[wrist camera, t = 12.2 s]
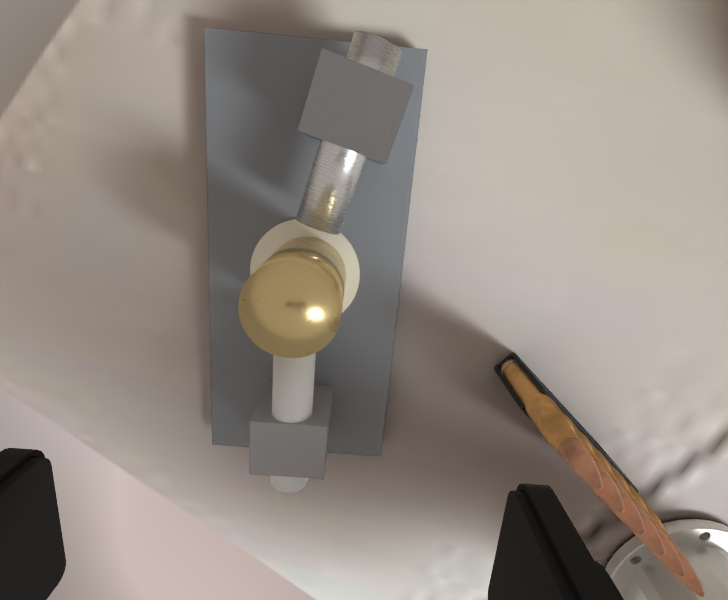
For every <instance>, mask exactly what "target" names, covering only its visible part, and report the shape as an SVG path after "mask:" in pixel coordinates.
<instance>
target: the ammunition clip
mask: <svg viewBox="0 0 728 600" xmlns="http://www.w3.org/2000/svg"><path fill="white" fill-rule="evenodd" d="M494 370H495V371H496V373H497V374H498V376H499V377H500V379H501V380H502V382H503V383H504V385H505V386H506V388H507V389H508V391H509V392H510V394H511V395H512V397H513V398H514V400H515V401H516V403H517V404H518V406H519V407H520V409H521V410H522V411H523V412H524V413H525V414H526V415H527V416H528V417H529V418H530V419H531V420H532V421H533V422H534V424H535V425H536V427H537V428H538V430H539V431H540V432H541V434H542V435H543V437H544V438H545V439H546V440H547V441H548V442H549V443H550V444H551V445H552V446H554V448H555V449H556V450H557V451H558V453H559V454H560V455H561V456H562V457H563V458H564V460H565V461H566V462H567V464H568V465H569V466H570V467H571V468H572V469H573V471H574V472H575V473H576V474H577V475H578V476H579V477H580V478H582V479H583V480H584V481H585V482H586V483H587V485H588V486H589V487H590V488H591V489H592V490H593V491H594V492H595V494H596V495H597V496H598V497H599V498H600V499H602V500H603V501H604V502H605V503H606V504H607V506H608V507H609V508H610V509H611V510H612V511H613V512H614V513H615V514H616V515H617V516H618V517H619V518H620V519H621V520H622V521H623V522H624V523H625V524H626V525H627V527H628V528H629V529H630V530H631V531H632V532H633V533H634V534H635V535H636V536H637V537H638V538H639V539H640V540H641V541H642V542H643V543H644V544H645V545H646V546H647V547H648V549H649V550H650V551H651V552H652V553H653V554H654V555H655V556H656V557H657V558H658V559H659V560H660V561H661V562H662V563H663V564H664V565H665V566H666V567H667V568H668V569H669V571H670V572H671V573H672V574H673V575H674V576H675V577H676V578H677V579H678V580H679V581H680V582H681V583H683V584H684V585H685V586H686V587H687V588H688V589H690V590H691V591H692V592H694V593H695V594H697V595H699V596H701V597H704V595H705V594H704V590H703V587H702V584H701V582H700V580H699V578H698V576H697V574H696V572H695V570H694V569H693V567H692V565H691V564H690V562H689V561H688V559H687V558H686V557H685V555H684V554H683V553H682V551H681V550H680V549H679V548H678V546H677V545H676V544H675V543H674V540H673V539H672V538H671V537H670V535H669V534H668V533H667V531H666V530H665V528H664V526H663V525H662V523H661V521H660V519H659V518H658V517H657V515H656V514H655V513H654V512H653V511H652V509H651V508H650V507H649V506H648V505H647V503H646V502H645V501H644V500H643V499H642V498H641V496H640V495H639V494H638V492H639V491H638V490H637V488H636V487H635V486H634V485H633V484H632V483H631V481H630V480H629V479H628V478H627V477H626V476H625V474H624V473H623V472H622V471H621V470H620V469H619V467H618V466H617V465H616V464H615V463H614V462H613V460H612V459H611V458H610V457H609V456H608V455H607V453H606V452H605V451H604V450H603V449H602V448H601V446H600V445H599V444H598V443H597V442H596V441H595V440H594V439H593V438H592V436H591V435H590V434H589V433H588V432H587V431H586V430H585V429H584V428H583V427H582V426H581V424H580V423H579V422H578V421H577V420H576V419H575V418H574V417H573V416H572V415H571V414H570V412H569V411H568V410H567V409H566V408H565V407H564V406H563V405H562V404H561V403H560V402H559V400H558V399H557V398H556V397H555V396H554V395H553V394H552V393H551V392H550V391H549V390H548V388H547V387H546V386H545V385H544V384H543V383H542V382H541V381H540V380H539V379H538V378H537V377H536V375H535V374H534V373H533V372H532V371H531V370H530V369H529V368H528V367H527V366H526V365H525V363H524V362H523V361H522V360H521V359H520V358H519V357H518V356H517V355H516V354H515V353H512V354H511V355H510V356H508V357H507V358H506V359H505V360H503V361H502V362H501V363H500V364H498V365H497V366H496V367H494Z"/></svg>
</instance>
